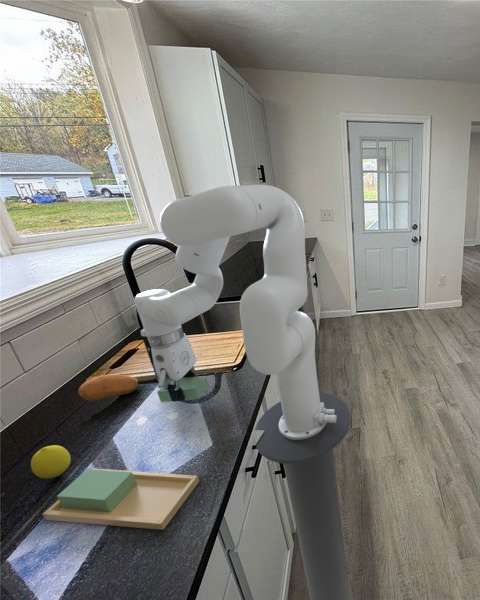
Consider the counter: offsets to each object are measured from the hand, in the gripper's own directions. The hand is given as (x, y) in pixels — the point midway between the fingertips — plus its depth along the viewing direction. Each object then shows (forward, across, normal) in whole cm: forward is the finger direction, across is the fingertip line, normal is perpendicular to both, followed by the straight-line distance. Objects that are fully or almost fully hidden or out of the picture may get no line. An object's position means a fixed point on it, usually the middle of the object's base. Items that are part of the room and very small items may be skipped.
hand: (185, 392), depth 88 cm
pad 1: (+4, -28, +3) cm, 28 cm away
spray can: (+4, +15, +14) cm, 21 cm away
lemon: (+4, -21, +17) cm, 27 cm away
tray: (+5, -29, -2) cm, 29 cm away
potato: (+4, +6, +25) cm, 26 cm away
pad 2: (+1, 0, 0) cm, 1 cm away
